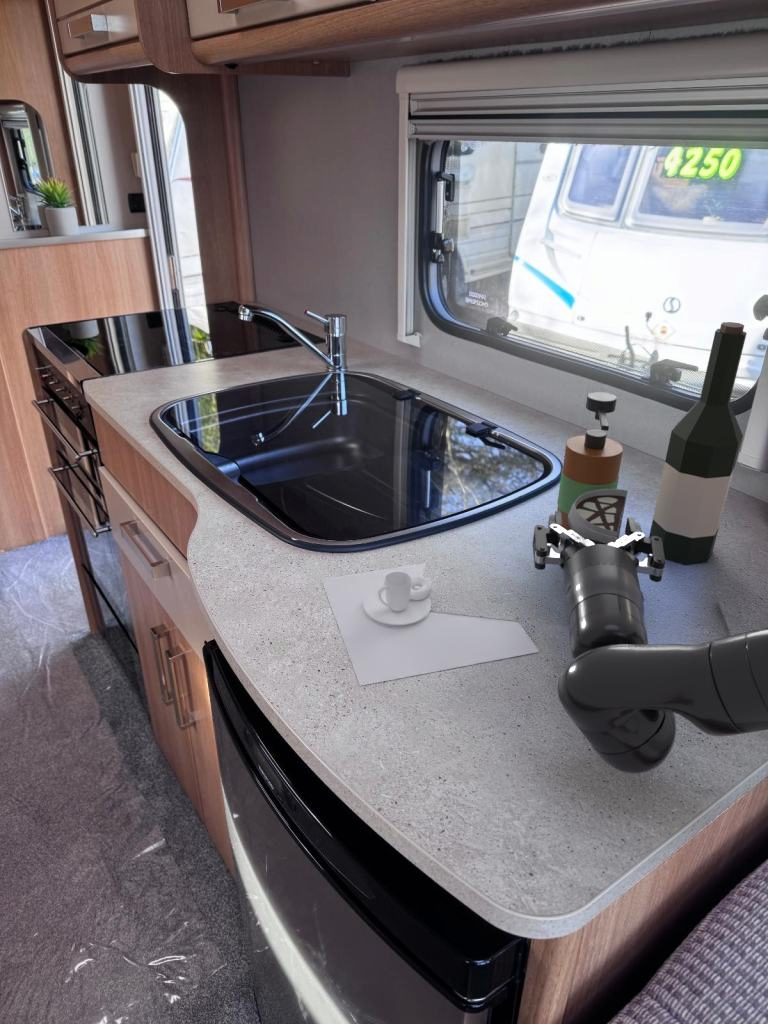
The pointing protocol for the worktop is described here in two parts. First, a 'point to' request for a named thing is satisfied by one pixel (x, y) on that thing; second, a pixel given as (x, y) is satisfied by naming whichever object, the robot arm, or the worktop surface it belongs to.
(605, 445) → the pump bottle
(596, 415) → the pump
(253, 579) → the worktop surface
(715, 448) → the wine bottle
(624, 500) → the food container
